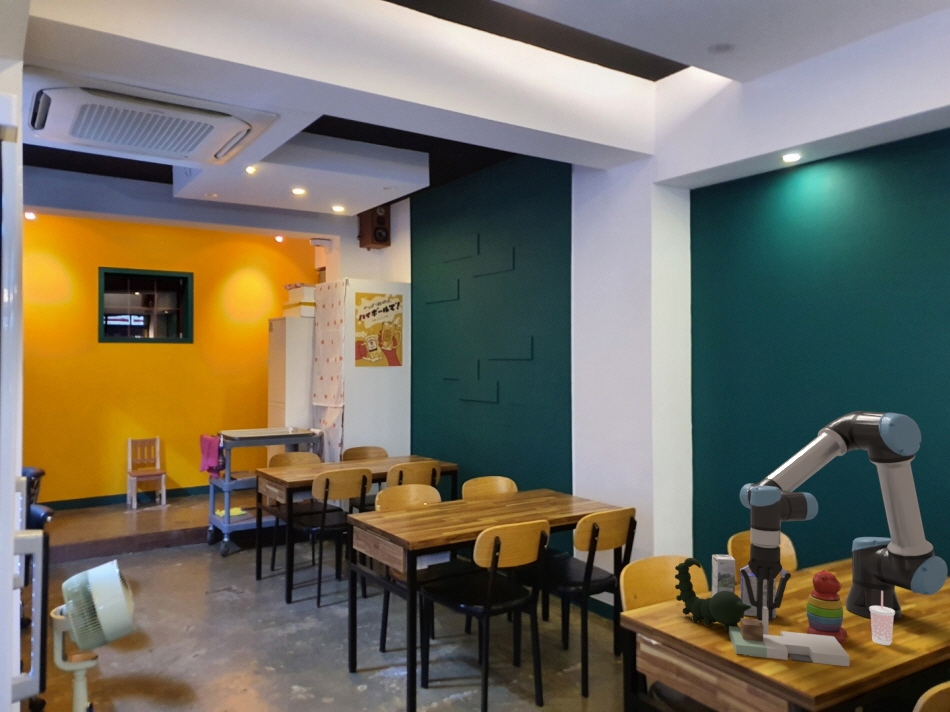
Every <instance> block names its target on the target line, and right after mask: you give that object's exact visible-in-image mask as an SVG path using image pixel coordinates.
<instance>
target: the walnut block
mask: <svg viewBox="0 0 950 712" xmlns="http://www.w3.org/2000/svg"><path fill="white" fill-rule="evenodd" d="M739 624H740V626H739V627H740V633H741V635H742V638H743V639H744V640H753V641H763V625H762V623H761V621H760V620H758V619H757V618H756V619H754V618H753V619H752V618H745V617H744V618H741V621H740V622H739Z"/></svg>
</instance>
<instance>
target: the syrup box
mask: <svg viewBox="0 0 950 712" xmlns="http://www.w3.org/2000/svg"><path fill="white" fill-rule="evenodd" d="M711 557H712V558H711V597H710V598H712V597H713V596H714V595H715V594H716V593H718V592H720V591H731V592H733V593H735V592H736V586H735V585H736V559H735V558H734V557H733V556H732V555H730V554H712V555H711ZM735 594H736V593H735Z"/></svg>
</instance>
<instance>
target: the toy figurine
mask: <svg viewBox="0 0 950 712" xmlns="http://www.w3.org/2000/svg"><path fill="white" fill-rule="evenodd" d="M693 566H696V567H697V568H698V569H701V568H702V566H701V563H700V562H699V560H697V558H694V557H688V558H686V559H685V560H684V561H683V562H681V563H679V564H678V565H676V566H674V569H675V571H677V574H675V575H674V578H675V580H678V581H679V582H678V584H675V586H674V588H675V590H679V591H680V592H679V594H678V595H676V596H675V597H676V601H677V602H678V601H679V602H681V601H682V602H683V603H684V606H685V607H684V608H682V613H683V614H684V615H685V616H687V615H690V613H691V615H692V621H693V622H694V623H699V622H700V621H703V622H702V623H703V624H704V625H706V626H707V627H710V626H712V625H713V623H718V624H721V625H723V628H724V630H725V631H726V633H728V634H729V626H734V627H739V625H738V624H740V623H741V618H745V615H744V612H745V611H746V610H748V609H750V606H749V605H746V604H744V603H743V602H742V600H741V597H740V596H739V595H737V594H736V593H733V592H731V591H720V592H718V593H716V594H715V595H714V596H713V597H706V598H702V597H699V596H698V595H696V594H697V593H696V591H695V590H694V585H693V582H692V581H691V579H692V576H691V573H690V572H689V571H690V567H693Z"/></svg>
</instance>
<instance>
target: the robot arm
mask: <svg viewBox="0 0 950 712" xmlns="http://www.w3.org/2000/svg"><path fill="white" fill-rule="evenodd" d="M921 443H922V434H921V430H920V428H919V424H917V422H916V421H915V420H914V419H913V418H911V417H909V415H906V414H902V413H896V412H882V411H881V412H880V411H879V412H877V411H866V410H865V411H864V410H858V411H853V412H852V411H851V412H849V413H846V414H844V415H842V416H840V417H838V418H836V419H834V420H832V421H831V422H829V423H827V424H826V425H825V426H824V427H822V428H821V429H820V430H819V431H818V433H817V437H815V438H813V440H811V441H810V442H809V443H808V444H807V445H805V446H804V447H802V448H801V449H800V450H799V451H798V452H796V453H794V455H792V456H791V457H790V458H789V459H787V460H786V461H785V462H784V463H782V464H781V465H780V466H778V467H777V468H776V469H775V470H774V471H772V472H771V473H769V474H768V475H767V476H766V477H764V478H763V479H762V480H760V482H757V483H751V482H750V483H746V484H744V485H743V486H742V487H741V489H740V490H739V491H740V492H739V501H740V503H741V505H742V506H744V507H745V508H746V509H747V508H748V509H749V510H750V538H749V540H750V542H751V543H750V544H749V550H750V551H749V556H750V557H749V561H748V562H747V565H746V566H744V567H739V571H740V574H741V573H742V575H743V576H744V580H745V585H746V589H747V593H748V597H749V601H750V603H751V605H752V606H755V607H757V616H756V620H760V621H761V623H762V625H763V634H764V635H769V622H773V620H774V618H773V609H774V608H776V609H780V608H781V605H782V602H783V597H784V594H785V590H786V588H787V583H788V581H789V580H790V579H791V577H792V574H791V573H790V572H789V571H788V570H786V569H784V568H783V565H782V563H781V547H780V545H781V530H782V528H781V527H782V522H796V521H797V522H798V521H801V522H804V521H809V520H812V519H814V518H815V517H816V516H817V515H818V513H819V503H818V501H817V498H816V497H815V496H814V495H813V494H812V493H810V492H804V491H803V492H802V491H798V492H793V491H795V490H796V489H797V488H799V487H800V486H801V485H802V484H803V483H805V482H806V481H807V480H808V479H810V478H812V476H813V475H815V474H816V473H817V472H818V471H820V470H821V469H822V468H823V467H825V466H826V465H827V464H828V463H830V462H831V461H832V460H833V459H834V458H836V457H837V456H838V457H842V456H844V455H845V454H846V453H848V452H850V451H855V450H861V451H867V455H868V460H869V462H871V463H872V464H873V465H875V466H876V469H877V474H878V479H879V480H878V481H879V484H880V491H881V495H882V499H883V505H884V508H885V509H884V510H885V514H886V519H887V524H888V529H889V530H888V531H889V534H890V537H882V536H881V537H877V536H863V537H861V536H860V537H856V538H854V540H852V548H851V571H852V573H851V574H852V577H851V580H852V582H851V586H850V589H849V592H848V594H847V597H846V598H845V599H846V600H845V608H846V609H847V611H849V612H851V613H853V614H855V615H857V614H858V616H861V617H865V618H868V617H869V619H871V611H870V608H869V607H870V606H881V591H883V607H888V608H891V609H893V610H894V611H895V615H894V618H893V621H894V619H895V620H899V619H901V618H902V606H901V605H900V601H899V598H898V596H897V593H896V589H895V587H898V588H901V589H903V590H907V591H910V592H912V593H914V594H920V595H923V596H933V595H935V594H937V593H938V592H939V591H941V590H942V588H943V587H944V585H945V583H946V581H947V577H948V566H947V563H946V561H945V560H944V559H943V558H942V557H940V556H938V555H935V551H934V546H933V544H932V543H930V541H928V540H927V539H926V536H925V531H924V525H923V522H922V516H921V512H920V511H921V510H920V505H919V502H918V496H917V491H916V485H915V481H914V480H915V479H914V476H913V471H912V465H911V462H912V461H913V460H914V459H915V458H916V453H917V452H918V451H919V449H920V447H921V445H920V444H921ZM751 571H752V572H753V574H754V575H755V576H756V580H757V596H756V601H755V599H754V595H753V591H752V586H751V582H750V578H749V576H748V575H749V574H750V572H751ZM778 576H780V578H779V581H778V585H777V588H776V596H775V599H774V602H773V584H774V579H775V578H776V579H777V577H778ZM765 579H766V581H767V607H763V580H765Z"/></svg>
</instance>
